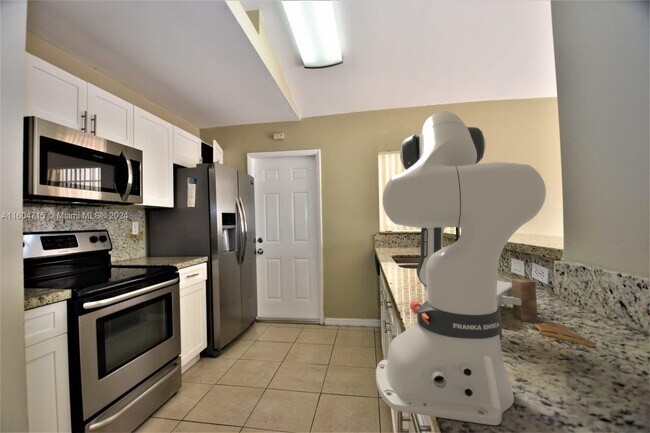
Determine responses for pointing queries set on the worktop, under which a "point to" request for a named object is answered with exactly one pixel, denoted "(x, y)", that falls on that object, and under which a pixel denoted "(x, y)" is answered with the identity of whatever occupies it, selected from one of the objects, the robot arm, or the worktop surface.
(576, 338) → the shard
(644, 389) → the worktop surface
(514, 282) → the walnut block
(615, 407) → the worktop surface
